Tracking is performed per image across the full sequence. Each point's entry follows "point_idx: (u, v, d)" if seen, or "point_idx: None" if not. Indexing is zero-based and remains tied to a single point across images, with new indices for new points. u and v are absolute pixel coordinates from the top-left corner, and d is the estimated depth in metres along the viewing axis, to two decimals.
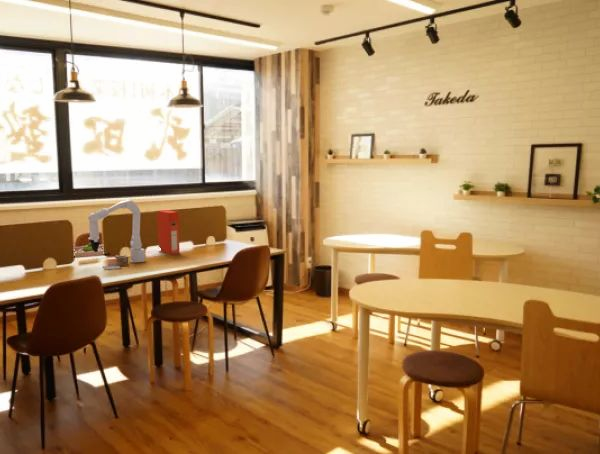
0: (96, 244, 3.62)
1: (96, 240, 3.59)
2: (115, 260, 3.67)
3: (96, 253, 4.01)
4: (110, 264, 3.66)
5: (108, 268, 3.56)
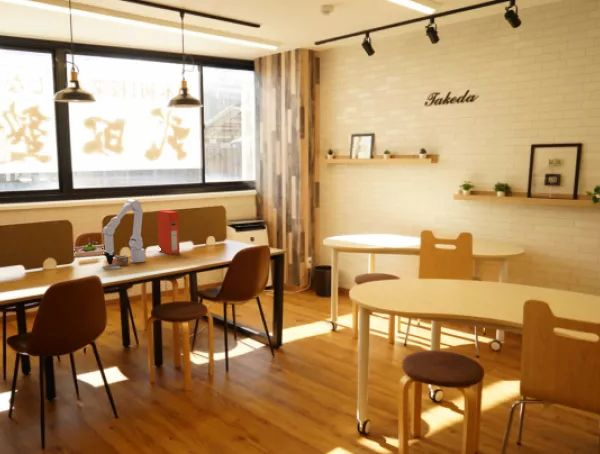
0: (110, 256, 3.64)
1: (111, 253, 3.60)
2: (115, 260, 3.67)
3: (96, 253, 4.01)
4: (110, 264, 3.66)
5: (108, 268, 3.56)
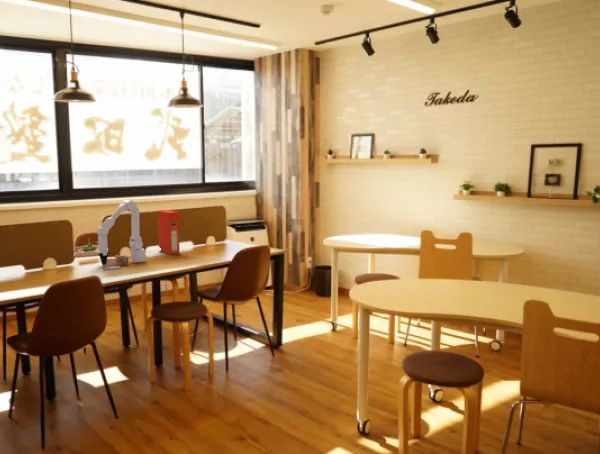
0: (104, 257, 3.62)
1: (105, 253, 3.58)
2: (109, 260, 3.65)
3: (96, 253, 4.01)
4: None
5: (108, 268, 3.56)
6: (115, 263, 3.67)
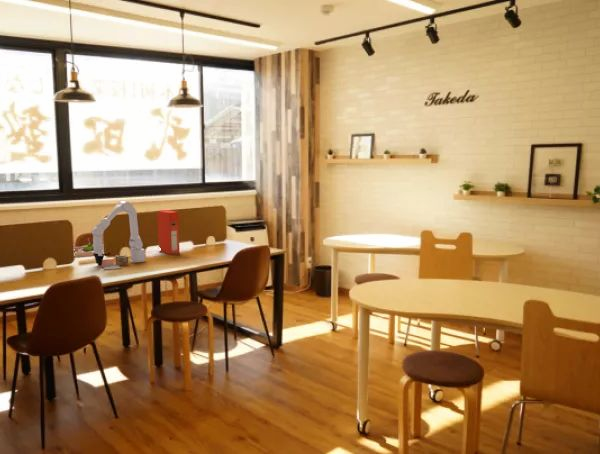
0: (100, 258, 3.59)
1: (100, 254, 3.56)
2: (105, 261, 3.64)
3: None
4: None
5: (108, 268, 3.56)
6: (111, 264, 3.66)
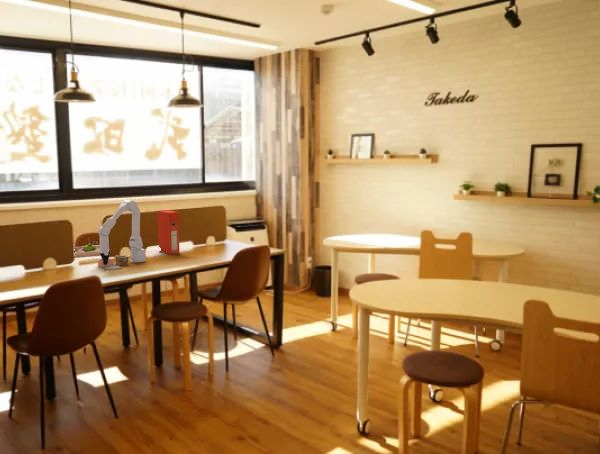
0: (106, 257, 3.63)
1: (106, 253, 3.58)
2: None
3: (96, 253, 4.01)
4: (100, 265, 3.63)
5: (108, 268, 3.56)
6: (111, 263, 3.66)
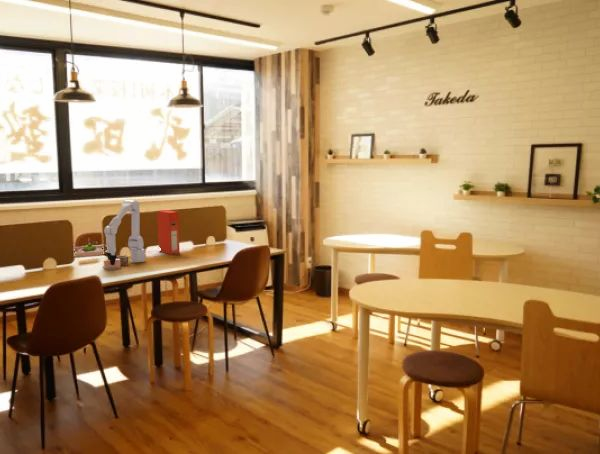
0: (113, 257, 3.55)
1: (113, 253, 3.52)
2: None
3: (96, 253, 4.01)
4: (106, 266, 3.56)
5: (108, 268, 3.56)
6: (117, 265, 3.60)
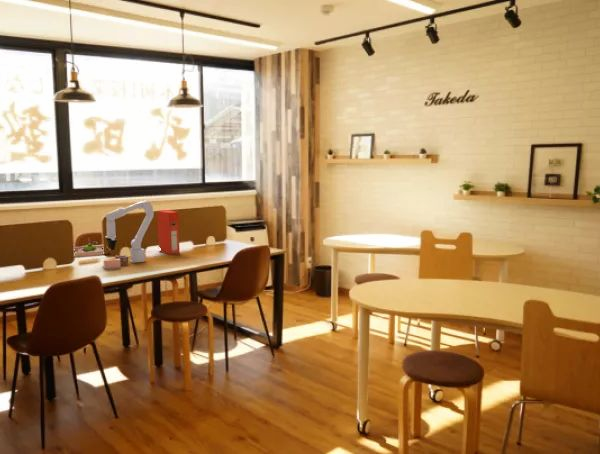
0: (113, 242, 3.70)
1: (113, 238, 3.67)
2: (111, 262, 3.58)
3: (96, 253, 4.01)
4: (106, 266, 3.56)
5: (108, 268, 3.56)
6: (117, 265, 3.60)
